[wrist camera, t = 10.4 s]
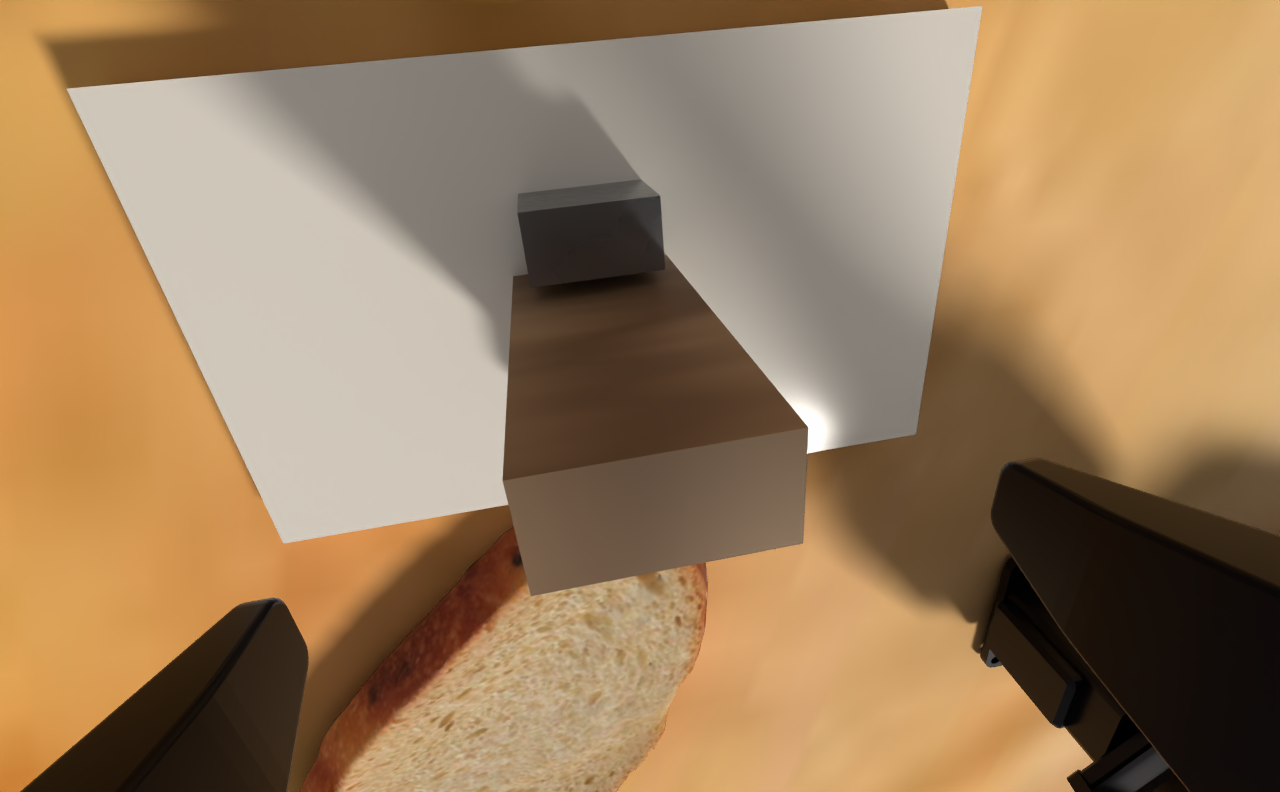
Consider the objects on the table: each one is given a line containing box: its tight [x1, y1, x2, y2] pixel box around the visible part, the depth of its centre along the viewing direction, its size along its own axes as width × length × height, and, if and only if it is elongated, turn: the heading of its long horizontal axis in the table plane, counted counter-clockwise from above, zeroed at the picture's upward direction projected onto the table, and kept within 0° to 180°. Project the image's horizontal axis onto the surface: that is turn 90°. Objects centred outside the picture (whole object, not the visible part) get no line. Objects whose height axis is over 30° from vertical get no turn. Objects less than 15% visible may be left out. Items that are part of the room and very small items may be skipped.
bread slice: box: [300, 527, 708, 792], centre depth 23 cm, size 18×18×4 cm
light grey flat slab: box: [67, 6, 982, 543], centre depth 17 cm, size 20×12×1 cm, turn 95°
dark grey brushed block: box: [517, 179, 665, 288], centre depth 15 cm, size 3×6×2 cm, turn 5°
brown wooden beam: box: [502, 255, 809, 596], centre depth 12 cm, size 4×2×9 cm, turn 95°
